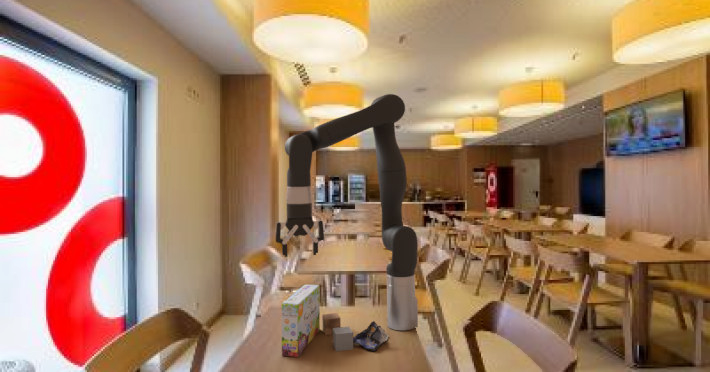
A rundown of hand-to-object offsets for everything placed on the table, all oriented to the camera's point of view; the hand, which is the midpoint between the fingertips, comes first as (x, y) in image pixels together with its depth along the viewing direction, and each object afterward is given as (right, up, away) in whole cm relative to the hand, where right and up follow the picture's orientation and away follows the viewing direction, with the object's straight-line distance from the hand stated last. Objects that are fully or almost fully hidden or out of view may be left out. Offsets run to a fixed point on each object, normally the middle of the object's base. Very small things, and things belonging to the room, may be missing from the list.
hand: (300, 255), depth 130 cm
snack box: (+1, -27, +1) cm, 27 cm away
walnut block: (+9, -26, +9) cm, 29 cm away
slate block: (+13, -26, -3) cm, 29 cm away
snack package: (+22, -26, -1) cm, 34 cm away
